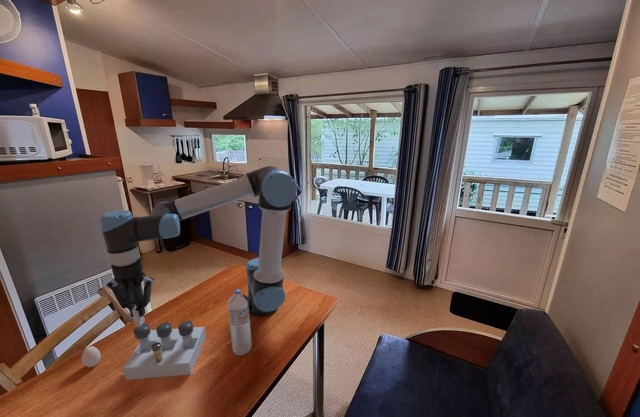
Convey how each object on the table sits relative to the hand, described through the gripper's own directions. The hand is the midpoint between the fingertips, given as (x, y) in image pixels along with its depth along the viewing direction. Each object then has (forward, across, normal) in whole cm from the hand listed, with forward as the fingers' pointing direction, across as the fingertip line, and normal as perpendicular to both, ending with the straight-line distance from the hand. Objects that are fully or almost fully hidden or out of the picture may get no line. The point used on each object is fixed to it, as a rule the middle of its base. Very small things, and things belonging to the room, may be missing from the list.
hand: (140, 323), depth 86 cm
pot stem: (+10, -7, +6) cm, 14 cm away
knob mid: (+9, -7, 0) cm, 12 cm away
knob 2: (+9, -14, 0) cm, 17 cm away
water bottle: (+15, -32, -1) cm, 35 cm away
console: (+15, -7, 0) cm, 16 cm away
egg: (+15, +17, +1) cm, 23 cm away
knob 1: (+9, 0, 0) cm, 9 cm away
